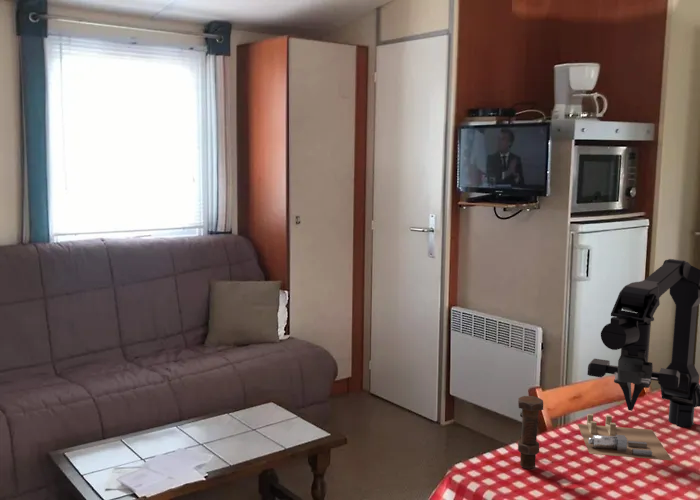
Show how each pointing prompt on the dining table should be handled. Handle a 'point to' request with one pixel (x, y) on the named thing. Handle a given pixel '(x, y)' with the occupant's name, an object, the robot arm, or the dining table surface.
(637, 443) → the socket
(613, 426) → the rack
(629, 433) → the board
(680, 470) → the dining table surface
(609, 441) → the grey piece
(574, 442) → the dining table surface
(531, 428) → the bolt
